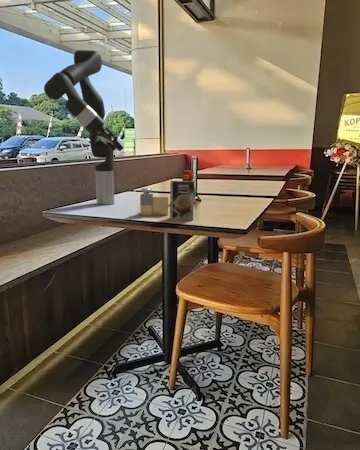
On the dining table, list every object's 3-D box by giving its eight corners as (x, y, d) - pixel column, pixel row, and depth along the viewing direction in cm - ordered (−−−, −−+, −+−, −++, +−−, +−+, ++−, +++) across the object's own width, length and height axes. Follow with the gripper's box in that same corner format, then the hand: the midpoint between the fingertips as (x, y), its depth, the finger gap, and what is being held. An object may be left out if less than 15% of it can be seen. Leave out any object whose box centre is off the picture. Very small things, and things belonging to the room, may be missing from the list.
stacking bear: (174, 203, 197) (174, 170, 193) (180, 200, 206) (180, 169, 202) (194, 204, 194) (194, 170, 190) (198, 201, 203) (199, 169, 199)
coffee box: (172, 221, 151) (172, 181, 148) (169, 218, 157) (169, 180, 154) (193, 220, 153) (194, 181, 149) (190, 217, 159) (190, 180, 156)
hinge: (144, 210, 174) (144, 191, 172) (169, 211, 173) (169, 192, 172) (140, 215, 162) (140, 195, 160) (167, 215, 162) (167, 195, 160)
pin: (143, 213, 168) (143, 188, 165) (153, 213, 166) (153, 188, 164) (139, 214, 163) (139, 189, 161) (149, 215, 162) (149, 189, 160)
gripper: (101, 111, 140) (130, 142, 147) (91, 114, 152) (119, 143, 160) (87, 125, 138) (117, 156, 146) (79, 127, 151) (107, 155, 158)
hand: (118, 149), depth 153 cm, fingers open, 8 cm apart
